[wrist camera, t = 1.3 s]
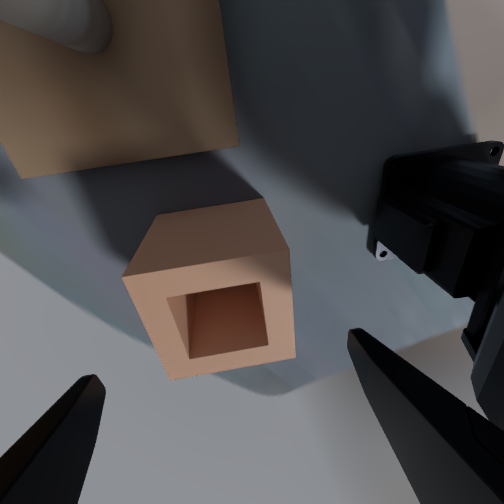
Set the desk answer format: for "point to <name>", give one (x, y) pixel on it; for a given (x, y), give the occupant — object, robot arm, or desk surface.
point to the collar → (214, 288)
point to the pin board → (112, 82)
